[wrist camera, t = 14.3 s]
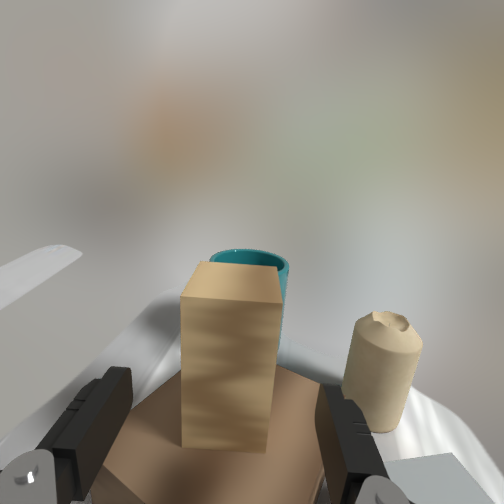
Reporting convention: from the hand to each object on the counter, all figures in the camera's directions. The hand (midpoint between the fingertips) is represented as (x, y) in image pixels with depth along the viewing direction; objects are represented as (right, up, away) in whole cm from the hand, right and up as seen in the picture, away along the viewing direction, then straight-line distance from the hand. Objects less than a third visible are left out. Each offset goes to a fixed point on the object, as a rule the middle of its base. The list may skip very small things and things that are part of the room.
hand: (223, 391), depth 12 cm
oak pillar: (0, -5, +7) cm, 9 cm away
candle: (+12, -9, +16) cm, 22 cm away
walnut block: (-1, -11, +9) cm, 14 cm away
